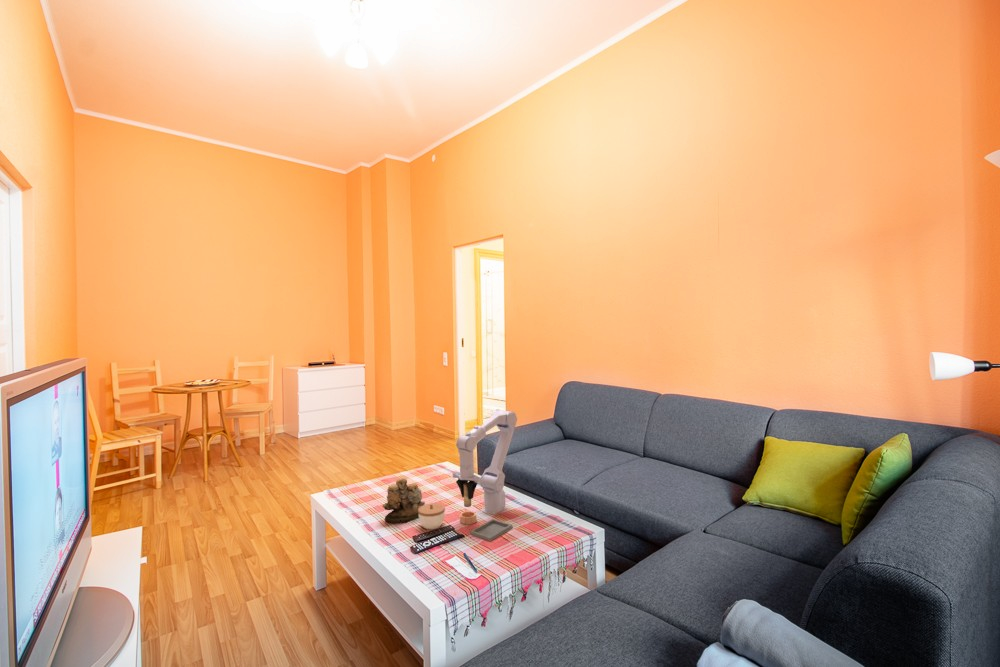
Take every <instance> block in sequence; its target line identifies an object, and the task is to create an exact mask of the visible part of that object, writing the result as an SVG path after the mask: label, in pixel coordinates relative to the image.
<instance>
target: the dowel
mask: <svg viewBox="0 0 1000 667" xmlns="http://www.w3.org/2000/svg"><path fill="white" fill-rule="evenodd" d="M463 506H464V508H471V506H472V499H468V490H467V486H466V483H464V497H463Z"/></svg>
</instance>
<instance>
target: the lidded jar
mask: <svg viewBox="0 0 1000 667" xmlns="http://www.w3.org/2000/svg"><path fill="white" fill-rule="evenodd" d="M445 507H446V506H445V505H444V504H442V503H437V502H436V503H434V502H433V503H432V502H431V503H427V504H426V503H425V504H424V505H423V506H421V507H420V508H419V509H418V513H419V518H418V521H419V524H420V526H422V528H424V529H426V530H436V529H439V528H440V527H441V526H442V524H443V523H444V521H445V515H446V514H445V511H446V508H445Z"/></svg>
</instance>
